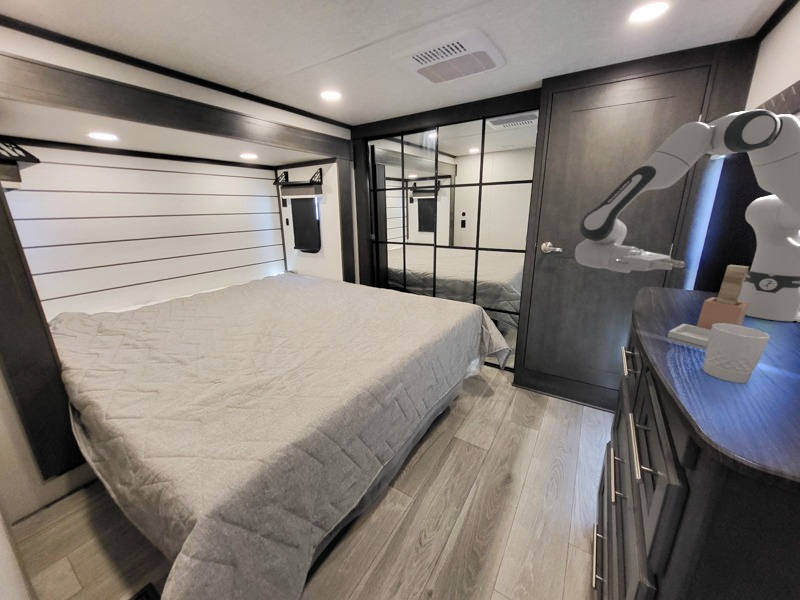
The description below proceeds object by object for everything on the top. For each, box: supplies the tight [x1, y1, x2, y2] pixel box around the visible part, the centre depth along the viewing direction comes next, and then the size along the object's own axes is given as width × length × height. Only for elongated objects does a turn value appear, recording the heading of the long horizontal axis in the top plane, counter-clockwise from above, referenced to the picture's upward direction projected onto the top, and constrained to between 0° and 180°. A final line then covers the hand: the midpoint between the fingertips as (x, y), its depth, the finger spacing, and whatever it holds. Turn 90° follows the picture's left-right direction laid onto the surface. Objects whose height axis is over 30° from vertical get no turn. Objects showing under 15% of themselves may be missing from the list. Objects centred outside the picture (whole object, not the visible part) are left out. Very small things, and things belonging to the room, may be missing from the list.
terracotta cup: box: [696, 296, 749, 330], centre depth 86 cm, size 7×7×9 cm
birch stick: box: [716, 264, 750, 306], centre depth 84 cm, size 3×3×18 cm
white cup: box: [701, 323, 771, 384], centre depth 63 cm, size 8×8×10 cm
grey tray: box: [666, 323, 711, 352], centre depth 79 cm, size 11×11×2 cm
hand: (677, 266), depth 92 cm, fingers open, 8 cm apart
